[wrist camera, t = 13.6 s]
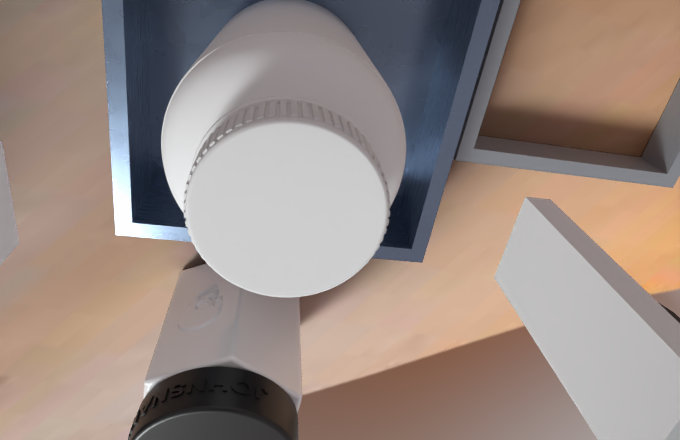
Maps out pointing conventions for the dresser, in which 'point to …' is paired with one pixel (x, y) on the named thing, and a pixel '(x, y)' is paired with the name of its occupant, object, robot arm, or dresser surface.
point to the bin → (378, 43)
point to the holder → (651, 168)
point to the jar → (223, 365)
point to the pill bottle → (284, 151)
